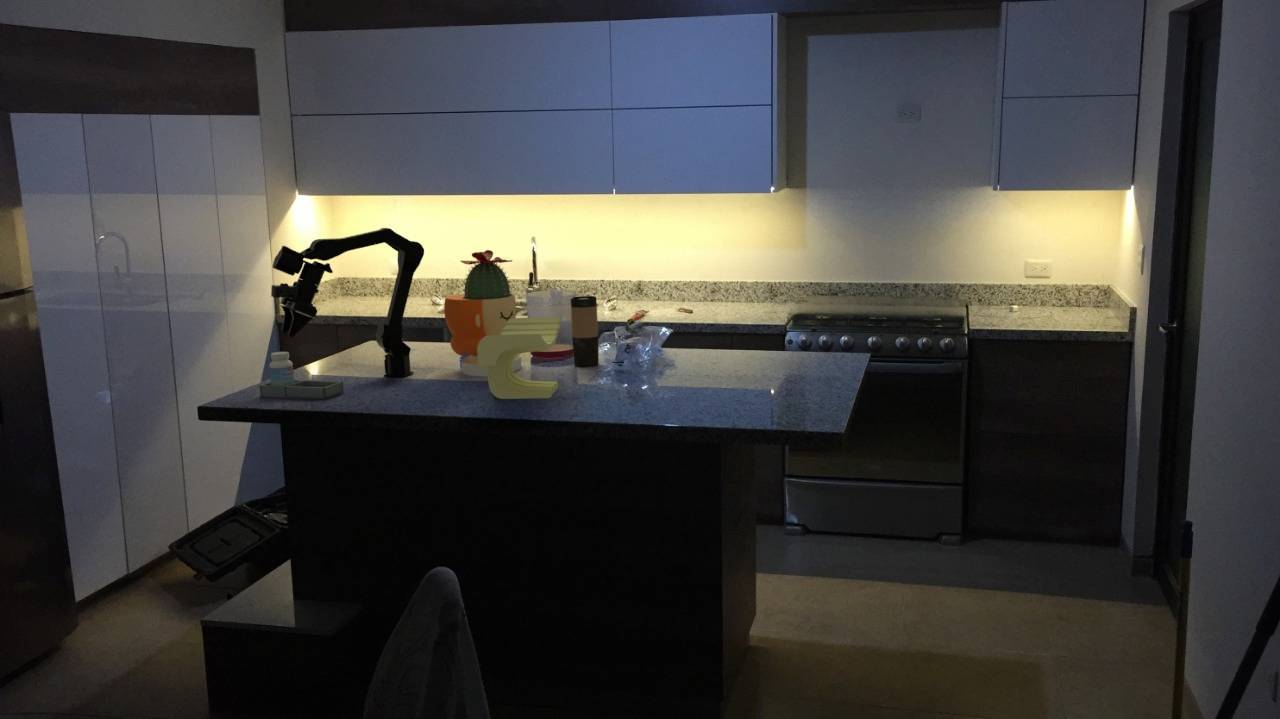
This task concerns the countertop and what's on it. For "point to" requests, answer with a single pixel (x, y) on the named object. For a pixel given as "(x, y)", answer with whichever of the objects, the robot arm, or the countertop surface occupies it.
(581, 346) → the travel mug
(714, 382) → the countertop surface
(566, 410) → the countertop surface
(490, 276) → the potted cactus
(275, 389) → the tray
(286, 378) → the pill bottle
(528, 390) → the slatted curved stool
